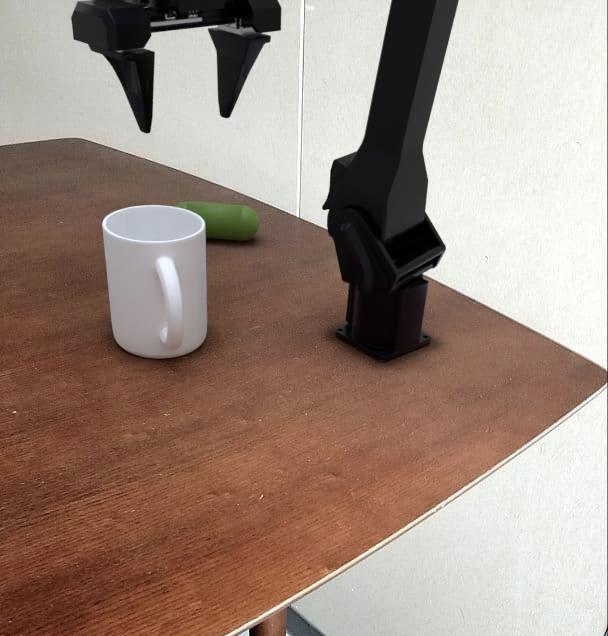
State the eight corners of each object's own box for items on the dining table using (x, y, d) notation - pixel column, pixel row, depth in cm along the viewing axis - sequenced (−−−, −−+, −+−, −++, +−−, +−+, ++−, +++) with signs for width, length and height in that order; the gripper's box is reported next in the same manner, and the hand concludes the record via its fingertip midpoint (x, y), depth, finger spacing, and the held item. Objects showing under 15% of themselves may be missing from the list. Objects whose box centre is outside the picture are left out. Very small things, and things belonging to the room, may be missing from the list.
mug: (227, 377, 72) (226, 257, 66) (127, 387, 70) (116, 264, 63) (196, 313, 81) (193, 202, 74) (107, 321, 79) (95, 207, 72)
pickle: (260, 234, 97) (261, 202, 95) (257, 247, 94) (257, 213, 92) (175, 228, 97) (174, 195, 95) (169, 240, 94) (167, 206, 92)
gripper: (205, -93, 80) (210, 93, 90) (22, -90, 69) (51, 120, 79) (287, -82, 74) (283, 117, 84) (100, -76, 63) (120, 149, 73)
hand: (186, 124), depth 80 cm, fingers open, 9 cm apart
